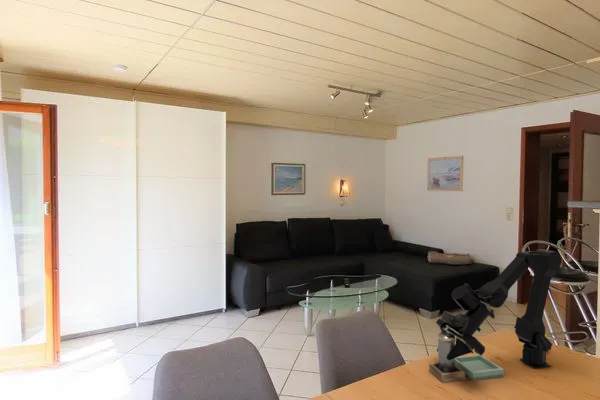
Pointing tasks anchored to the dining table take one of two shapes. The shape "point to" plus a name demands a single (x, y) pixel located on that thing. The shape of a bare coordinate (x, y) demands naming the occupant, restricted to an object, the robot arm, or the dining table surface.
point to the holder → (447, 377)
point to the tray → (478, 367)
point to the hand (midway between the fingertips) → (442, 355)
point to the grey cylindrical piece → (445, 352)
